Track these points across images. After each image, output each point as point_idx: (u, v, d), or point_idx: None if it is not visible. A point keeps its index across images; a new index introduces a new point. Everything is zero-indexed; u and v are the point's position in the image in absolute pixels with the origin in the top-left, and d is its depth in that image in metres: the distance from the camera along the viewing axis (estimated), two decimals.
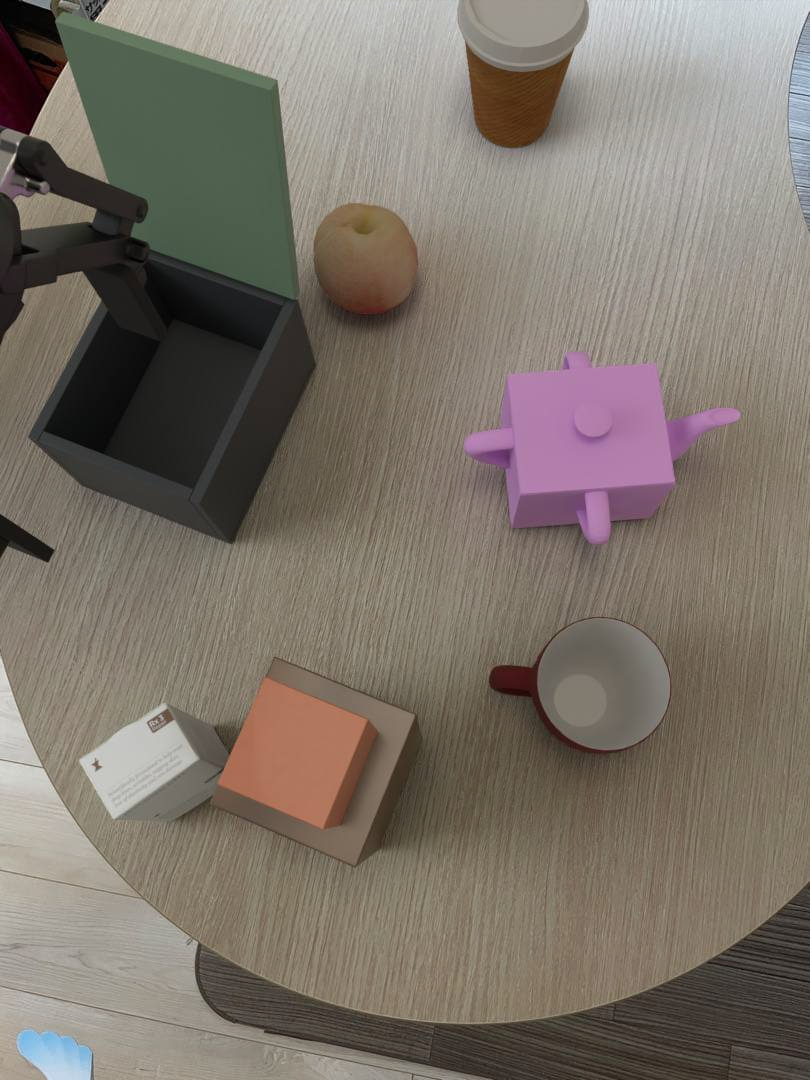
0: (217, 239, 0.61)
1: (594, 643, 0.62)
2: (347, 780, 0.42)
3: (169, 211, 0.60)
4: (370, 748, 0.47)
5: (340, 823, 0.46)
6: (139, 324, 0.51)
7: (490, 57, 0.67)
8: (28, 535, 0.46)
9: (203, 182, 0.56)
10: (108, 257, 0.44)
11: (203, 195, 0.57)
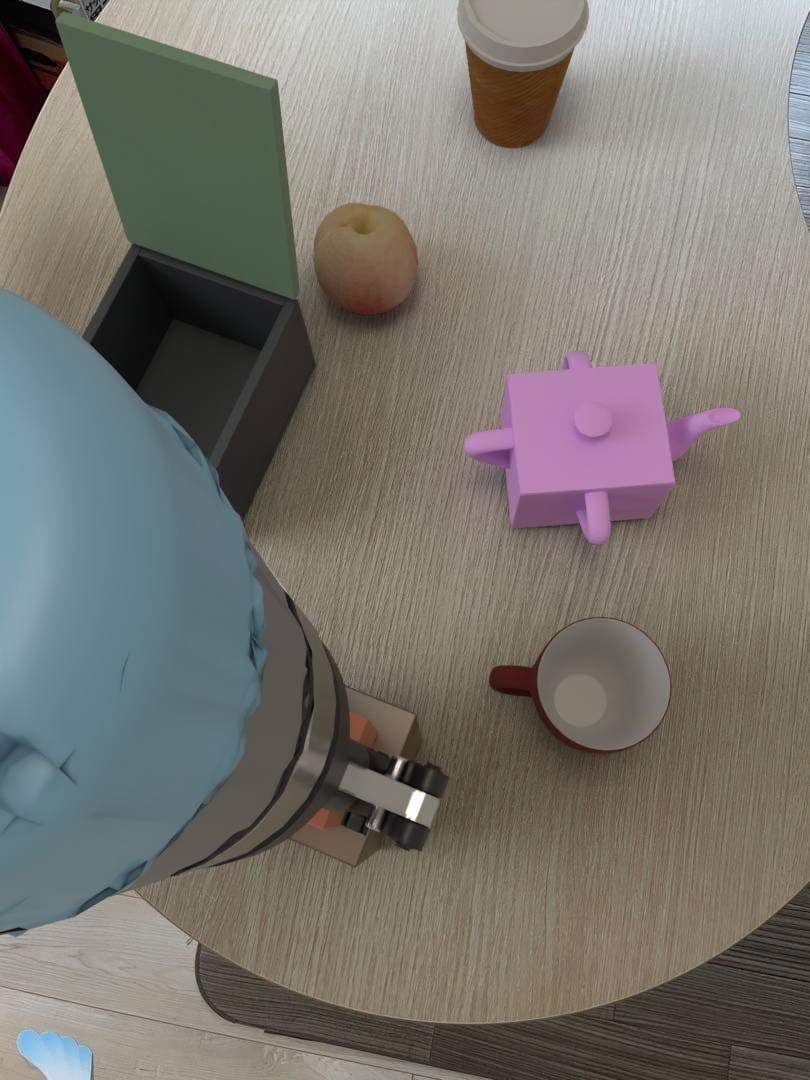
0: (217, 239, 0.61)
1: (594, 643, 0.62)
2: None
3: (169, 211, 0.60)
4: None
5: None
6: None
7: (490, 57, 0.67)
8: None
9: (203, 182, 0.56)
10: None
11: (203, 195, 0.57)
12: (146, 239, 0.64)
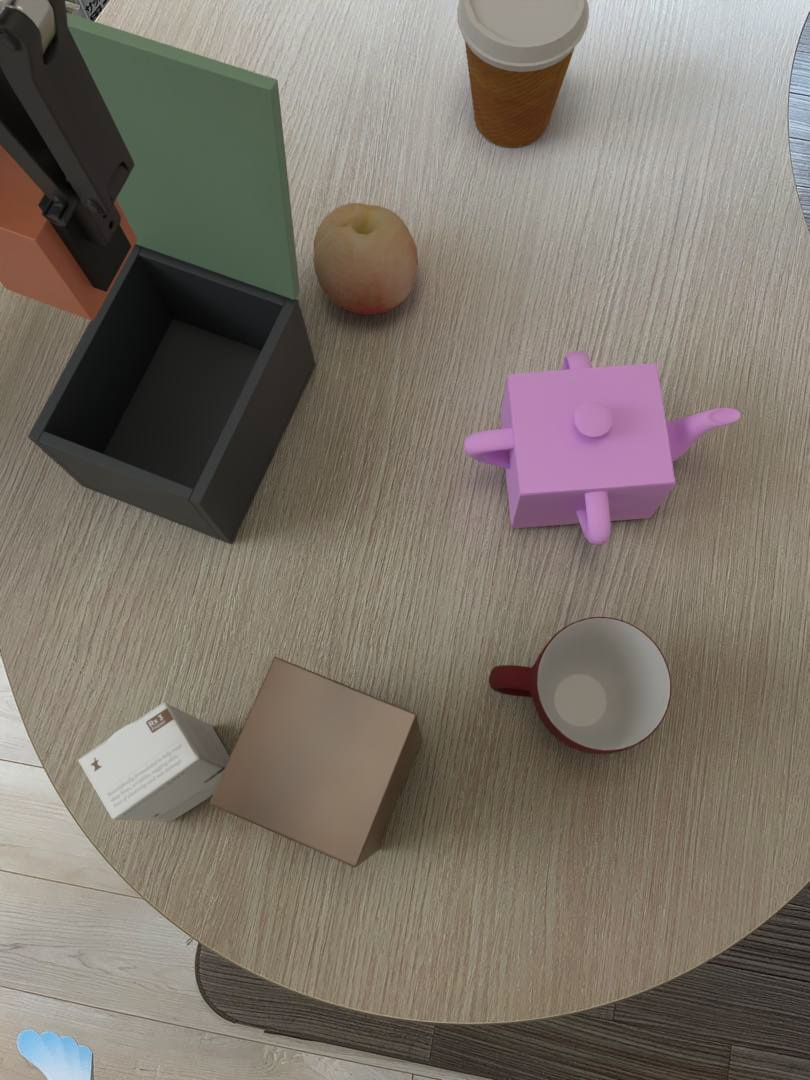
0: (217, 239, 0.61)
1: (594, 643, 0.62)
2: None
3: (169, 211, 0.60)
4: None
5: (92, 315, 0.47)
6: None
7: (490, 57, 0.67)
8: None
9: (203, 182, 0.56)
10: (29, 169, 0.37)
11: (203, 195, 0.57)
12: (146, 239, 0.64)
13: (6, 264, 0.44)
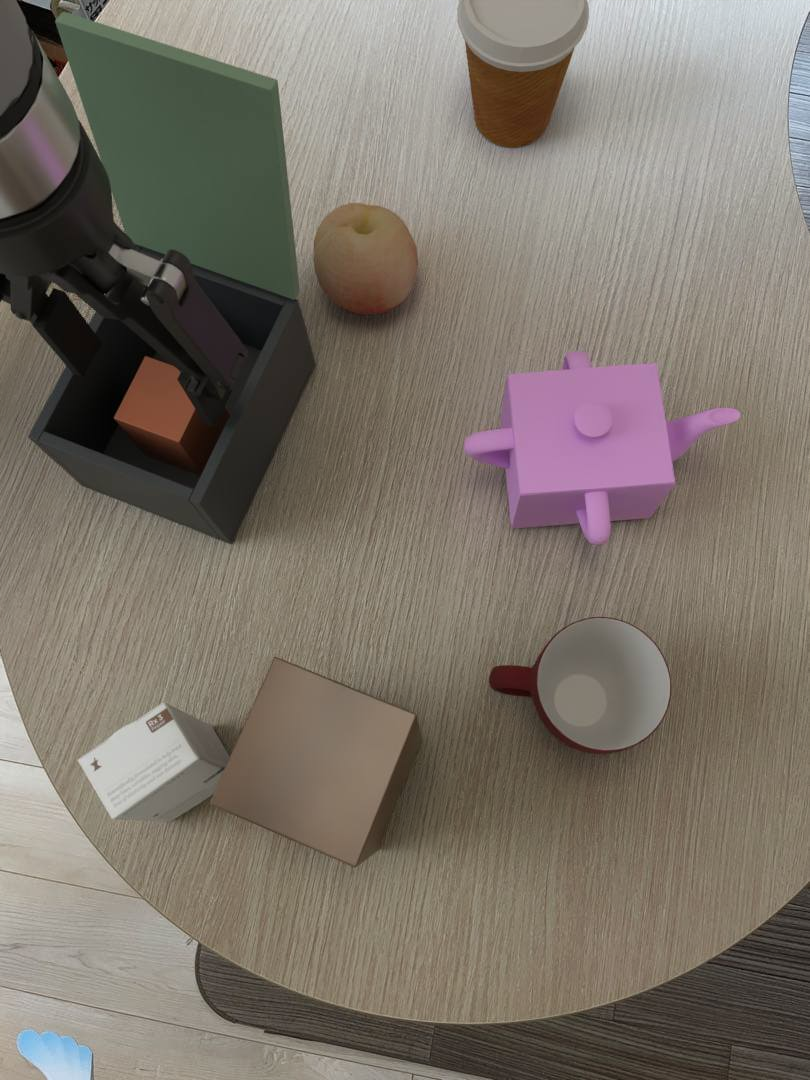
0: (217, 239, 0.61)
1: (594, 643, 0.62)
2: (199, 422, 0.65)
3: (169, 211, 0.60)
4: None
5: None
6: None
7: (490, 57, 0.67)
8: (63, 354, 0.59)
9: (203, 182, 0.56)
10: (172, 361, 0.52)
11: (203, 195, 0.57)
12: (146, 239, 0.64)
13: (151, 446, 0.67)
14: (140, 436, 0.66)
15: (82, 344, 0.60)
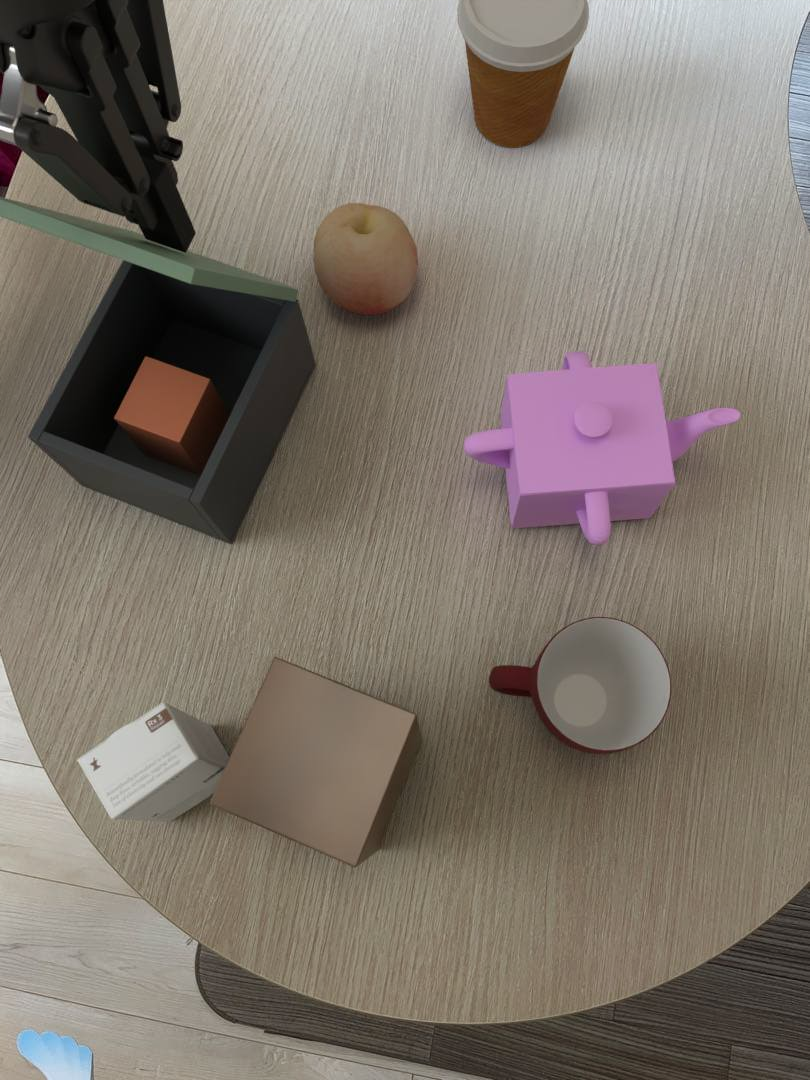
0: None
1: (594, 643, 0.62)
2: (199, 422, 0.65)
3: None
4: None
5: None
6: None
7: (490, 57, 0.67)
8: (176, 212, 0.54)
9: None
10: (153, 124, 0.49)
11: None
12: None
13: (151, 446, 0.67)
14: (140, 436, 0.66)
15: None
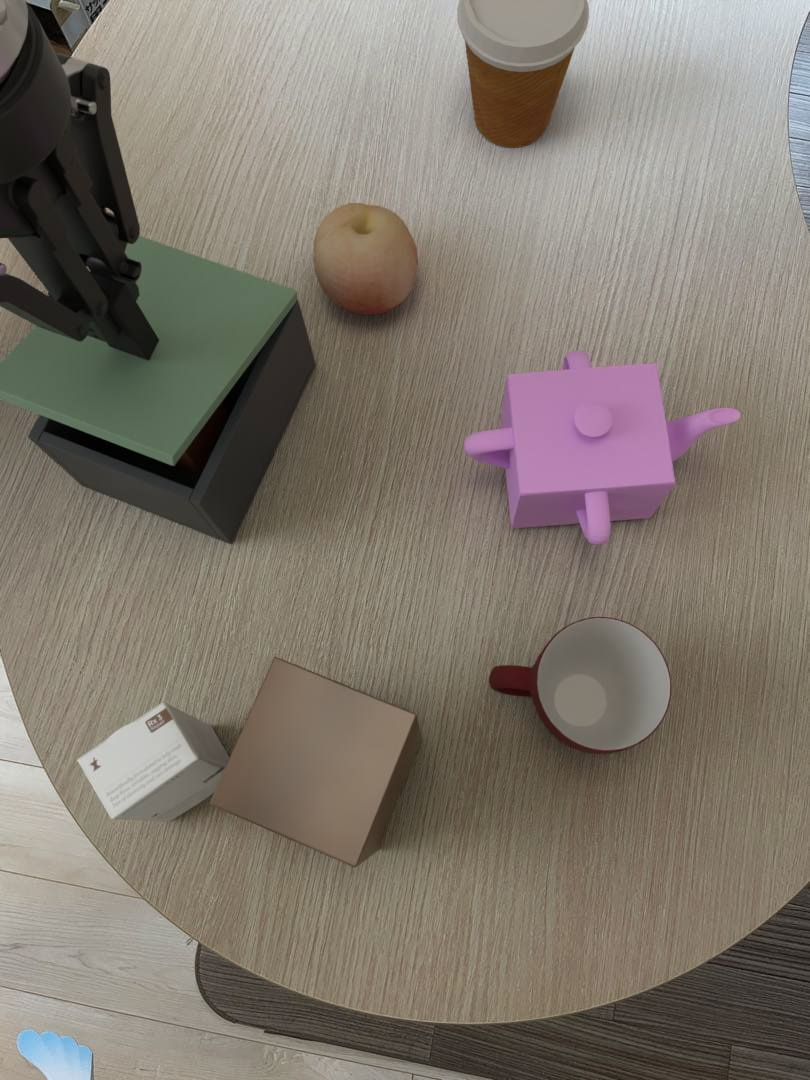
0: None
1: (594, 643, 0.62)
2: None
3: None
4: None
5: None
6: None
7: (490, 57, 0.67)
8: (137, 326, 0.54)
9: None
10: (110, 251, 0.49)
11: None
12: None
13: None
14: None
15: None
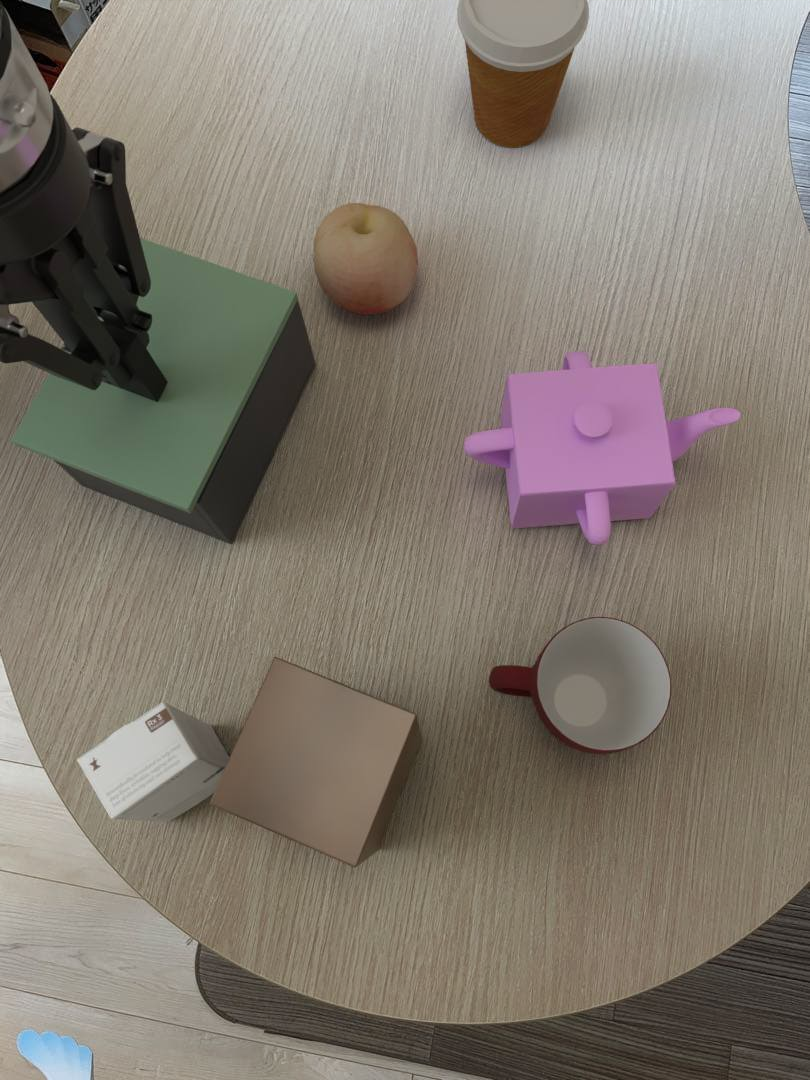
0: None
1: (594, 643, 0.62)
2: None
3: None
4: None
5: None
6: None
7: (490, 57, 0.67)
8: (147, 371, 0.57)
9: None
10: (123, 305, 0.52)
11: None
12: None
13: None
14: None
15: None
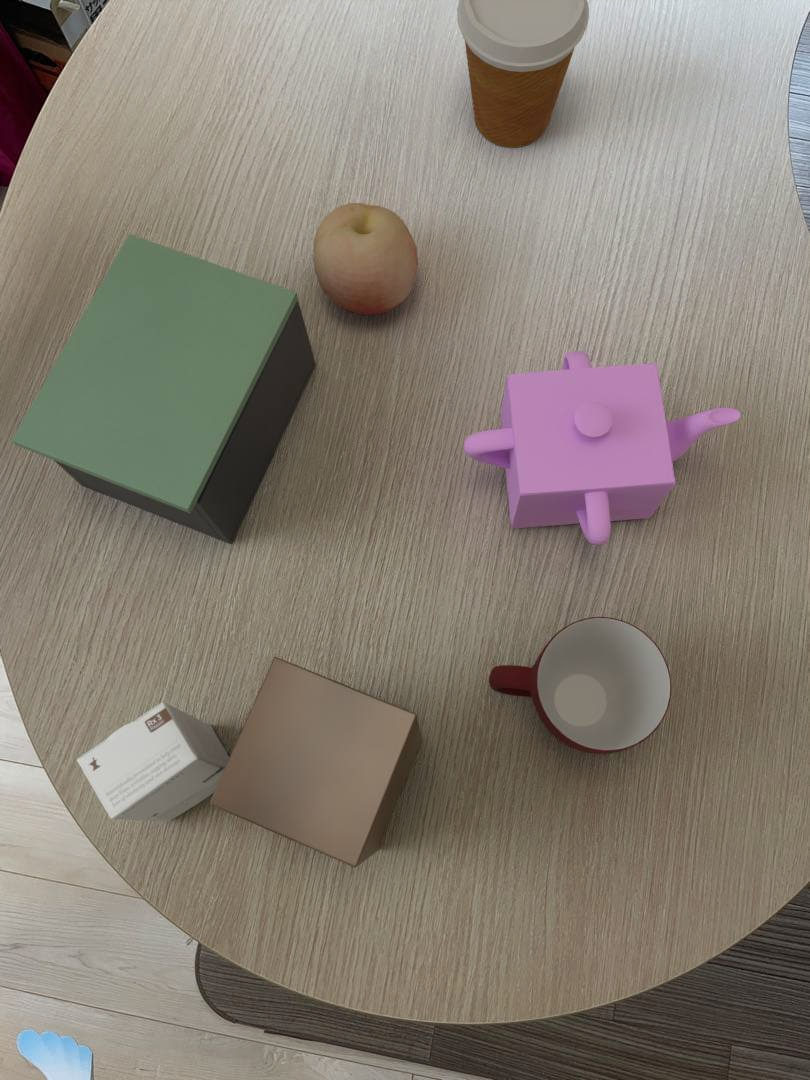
0: None
1: (594, 643, 0.62)
2: None
3: None
4: None
5: None
6: None
7: (490, 57, 0.67)
8: None
9: None
10: None
11: None
12: None
13: None
14: None
15: None
